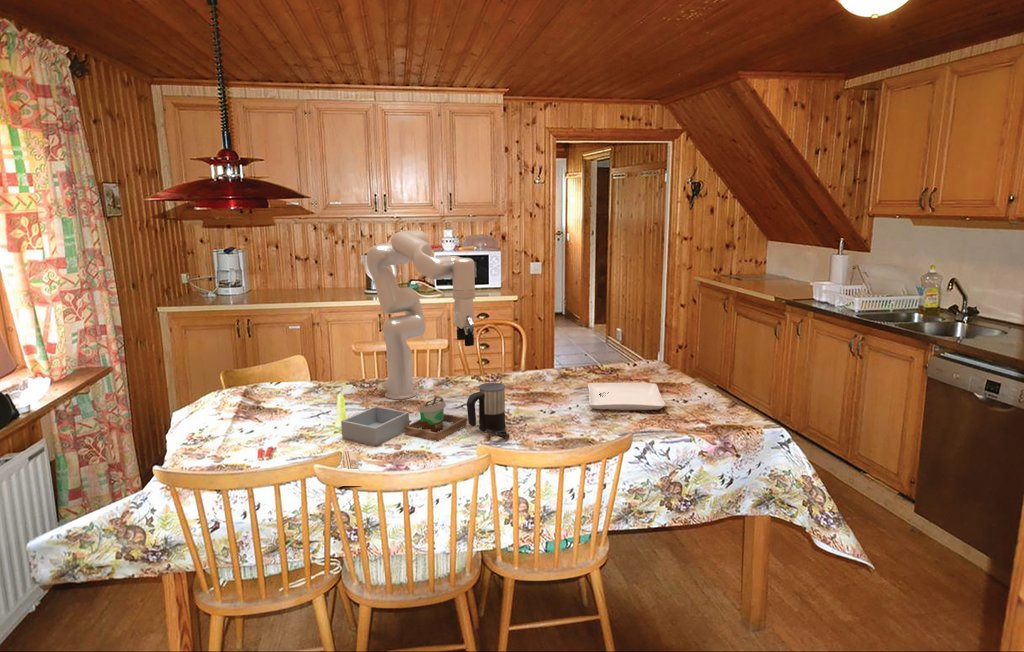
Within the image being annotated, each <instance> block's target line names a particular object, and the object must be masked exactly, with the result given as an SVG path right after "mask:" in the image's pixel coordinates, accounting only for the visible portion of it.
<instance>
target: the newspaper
mask: <svg viewBox="0 0 1024 652" xmlns="http://www.w3.org/2000/svg"><path fill="white" fill-rule="evenodd" d="M342 452H343V460H342V464H341V468H347V469H359V470H360V467H359V464H358V459H357V455H356V452H355V451H352V450H347V451H346V450H345V451H342Z"/></svg>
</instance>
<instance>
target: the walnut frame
mask: <svg viewBox="0 0 1024 652" xmlns="http://www.w3.org/2000/svg"><path fill="white" fill-rule="evenodd" d="M445 421H447V422H446V423H450V422H453V423H451V425H448V426H447V427H446V428H443V429H442V430H441V431H439V432H431V431H427V430H422V427H421V418H420V419H418V420H416V421H414V422H412V423H409V425H408V426H406V427H405V432H404V434H405V435H408V436H411V437H417V438H421V439H425V438H426V440H430V439H431V440H432V441H434V440H436V441H435V442H440V441H441V439H442V440H443V439H445V438H447V437H448V435H449V436H450V435H452V434H453V432H454V433H455V432H457V431H459V430H460V428H461V427H462V428H464V427H466V426H467V425H468V417H463V416H458V415H453V414H447V413H443V422H445ZM466 424H467V425H466ZM465 425H466V426H465ZM463 426H464V427H463ZM462 428H461V429H462ZM458 429H459V430H458ZM456 430H457V431H456ZM446 436H447V437H446ZM431 440H430V441H431ZM439 440H440V441H439Z"/></svg>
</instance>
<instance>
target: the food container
mask: <svg viewBox="0 0 1024 652" xmlns="http://www.w3.org/2000/svg"><path fill="white" fill-rule="evenodd" d="M446 406H447V405H446V401H445V400H444V398H443V397H442V396H440V395H436V394H435V395H434V398H433V399H431V400H429V401H427V402H426V403H424V405H419V407H418V413H419V415H420V419H421V427H420V428H421V429H422V430H427V431H431V432H436V433H438V431H439V432H440V430H441V431H442V430H443V429H444V421H443V414H445V413H444V412H445V411H444V409H445V408H446Z"/></svg>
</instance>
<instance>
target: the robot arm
mask: <svg viewBox="0 0 1024 652" xmlns="http://www.w3.org/2000/svg"><path fill="white" fill-rule="evenodd" d="M429 240H430V239H429V237H428V235H427V234H426V233H425V231H422V230H420V229H417V230H415V229H414V230H411V229H410V230H400V231H396V233H394V234H393V235H392V236H391V237H390V242H389V243H387V242H386V243H379V244H374V245H373V246H371V247H370V248H369V249H368V251H367V253H366V265H367V269H368V271H369V274H370V276H371V278H372V280H373V283H374V286H375V291H376V295H377V297H378V303H379V306H380V308H381V310H382V313H384V314H387V315H394V314H400V313H404V315H398V316H396V315H395V316H393V317H390V318H387V319H386V320H385V321H384V322H383V325H382V332H383V333H382V334H383V338H384V342H385V348H386V361H387V362H386V365H387V377H388V378H387V379H388V380H387V381H384V382H383V384H382V386H381V387H382V388H384V389H386V391H385V393H384V396H385V397H386V398H387V399H390V400H406V399H411V398H413V397H416V396H417V394H418V390H417V388H414V379H413V359H412V350H411V347H410V345H409V344H408V343H407V340H410V339H414V338H418V337H421V336H423V335H424V333H425V332H426V329H427V325H426V319H425V315H424V312H423V307H422V303H421V300H420V297H419V295H418V293H417V291H416V290H414V288H412V287H409V286H404V287H399V284H398V281H397V277H396V275H395V274H394V273H393V271H392V270H391V269H389V267H388V266H394V265H403V264H405V265H406V264H407V263H410V262H413V265H414V268H415V269H416V271H417V272H418V273H419V274H421V275H422V276H424V277H425V278H428V279H430V280H438V281H439V280H442V279H443V280H444V279H451V278H452V299H453V300H454V302H453V303H454V304H453V324H454V325H455V326H456V340H457V341H464V346H465V347H471V346H472V347H473V346H475V332H474V327H475V309H474V299H476V287H475V286H476V285H475V284H476V283H475V282H476V281H475V277H476V275H475V261H474V259H472V258H470V257H462V256H461V257H460V256H458V255H448V256H447V255H446V256H438V257H432V253H433V249H432V246H431V244H430V241H429Z"/></svg>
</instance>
